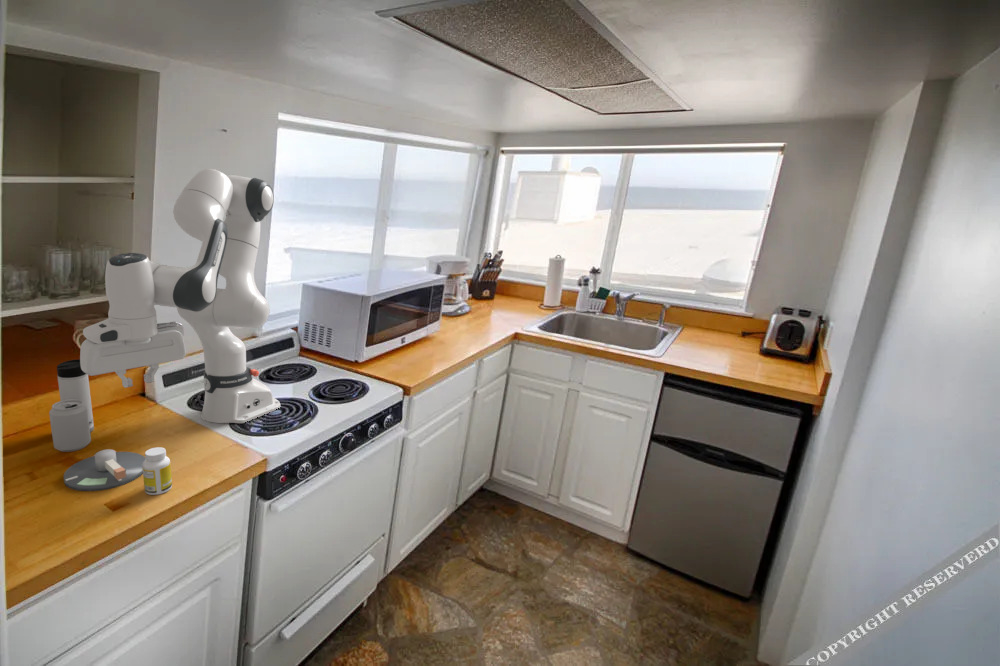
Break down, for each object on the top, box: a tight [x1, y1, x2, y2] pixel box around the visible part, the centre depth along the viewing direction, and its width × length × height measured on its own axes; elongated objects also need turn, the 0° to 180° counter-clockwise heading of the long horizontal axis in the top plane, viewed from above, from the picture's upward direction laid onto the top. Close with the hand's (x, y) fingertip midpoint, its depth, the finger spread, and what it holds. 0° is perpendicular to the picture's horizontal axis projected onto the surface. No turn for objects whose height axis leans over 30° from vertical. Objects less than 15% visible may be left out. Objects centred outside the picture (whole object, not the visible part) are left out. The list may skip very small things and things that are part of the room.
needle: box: [94, 448, 126, 480], centre depth 123 cm, size 11×4×4 cm, turn 55°
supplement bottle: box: [142, 446, 173, 496], centre depth 121 cm, size 5×5×10 cm
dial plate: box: [63, 451, 146, 492], centre depth 126 cm, size 16×16×1 cm
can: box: [48, 399, 92, 453], centre depth 134 cm, size 8×8×12 cm
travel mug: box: [56, 358, 95, 433], centre depth 141 cm, size 6×7×20 cm
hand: (138, 384), depth 122 cm, fingers open, 3 cm apart
